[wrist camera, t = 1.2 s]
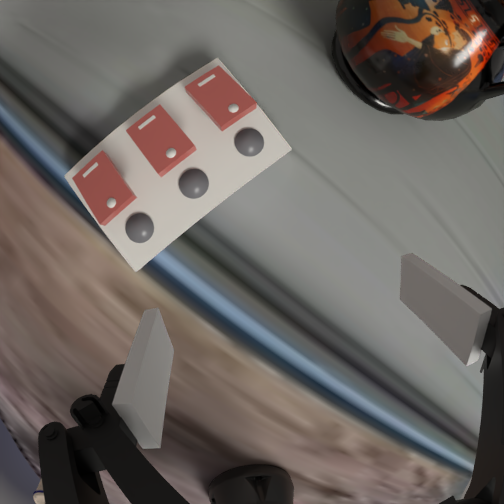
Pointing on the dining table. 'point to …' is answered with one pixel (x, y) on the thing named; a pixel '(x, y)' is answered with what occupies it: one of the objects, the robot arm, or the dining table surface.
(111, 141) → the power strip
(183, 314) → the dining table surface
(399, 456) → the dining table surface
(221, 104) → the rocker
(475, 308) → the robot arm
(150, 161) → the rocker
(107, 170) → the rocker
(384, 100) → the amphora vase
